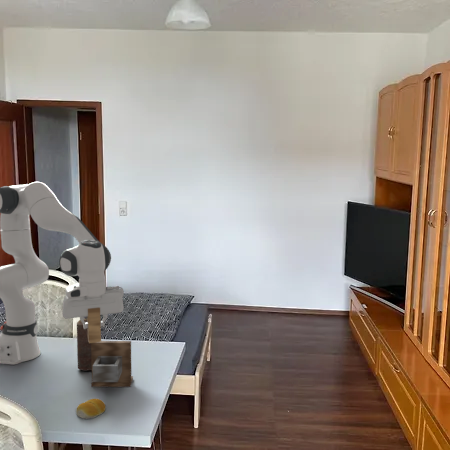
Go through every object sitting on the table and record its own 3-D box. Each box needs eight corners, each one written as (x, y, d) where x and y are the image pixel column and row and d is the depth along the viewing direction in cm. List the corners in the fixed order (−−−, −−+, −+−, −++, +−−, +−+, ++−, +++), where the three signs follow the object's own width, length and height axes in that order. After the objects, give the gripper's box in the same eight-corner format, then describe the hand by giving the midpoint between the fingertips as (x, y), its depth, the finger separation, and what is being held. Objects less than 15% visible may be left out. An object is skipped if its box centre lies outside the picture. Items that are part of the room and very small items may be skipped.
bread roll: (110, 410, 159) (110, 399, 159) (88, 422, 152) (88, 410, 152) (93, 402, 164) (93, 391, 164) (71, 413, 157) (71, 402, 156)
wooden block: (87, 339, 168) (86, 305, 167) (99, 337, 170) (98, 304, 168) (89, 343, 165) (87, 308, 163) (101, 341, 166) (100, 307, 165)
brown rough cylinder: (91, 374, 185) (90, 323, 182) (73, 372, 186) (72, 322, 184) (100, 366, 192) (99, 317, 190) (83, 364, 194) (82, 316, 191)
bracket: (85, 398, 167) (84, 353, 164) (95, 379, 181) (94, 337, 179) (126, 398, 167) (125, 353, 165) (132, 379, 182) (132, 337, 179)
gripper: (121, 283, 172) (122, 321, 174) (61, 288, 164) (62, 328, 166) (125, 287, 166) (126, 326, 168) (62, 293, 159) (63, 334, 160)
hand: (94, 327), depth 167 cm, fingers closed on wooden block, 4 cm apart
